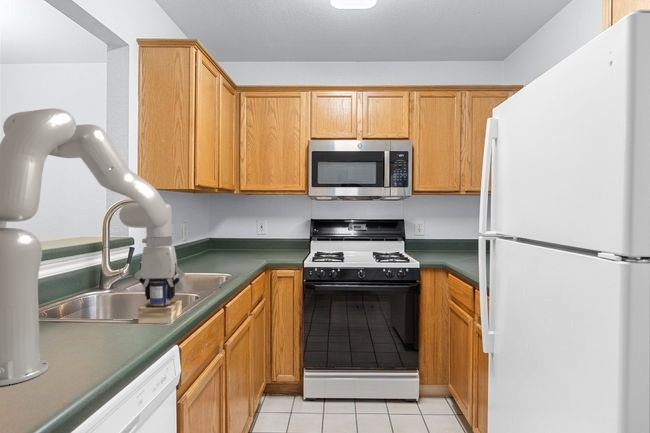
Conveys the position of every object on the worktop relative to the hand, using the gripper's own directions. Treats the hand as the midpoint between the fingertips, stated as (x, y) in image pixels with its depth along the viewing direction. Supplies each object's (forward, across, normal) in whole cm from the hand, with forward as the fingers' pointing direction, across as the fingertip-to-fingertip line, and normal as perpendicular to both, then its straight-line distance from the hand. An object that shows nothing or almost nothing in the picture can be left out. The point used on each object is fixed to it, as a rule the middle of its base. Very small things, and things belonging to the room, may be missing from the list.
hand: (160, 298), depth 130 cm
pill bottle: (+3, 0, 0) cm, 3 cm away
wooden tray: (+7, 0, 0) cm, 7 cm away
